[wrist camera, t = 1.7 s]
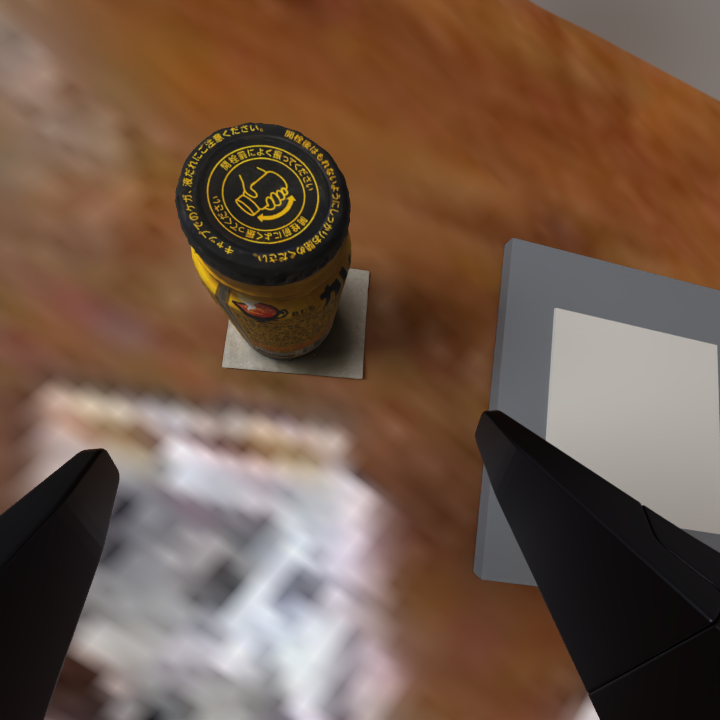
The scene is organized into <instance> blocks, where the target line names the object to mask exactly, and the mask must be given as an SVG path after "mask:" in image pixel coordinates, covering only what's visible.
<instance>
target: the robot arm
mask: <svg viewBox="0 0 720 720" xmlns="http://www.w3.org/2000/svg"><path fill="white" fill-rule="evenodd" d="M475 438H476V442H477V445H478V448H479V451H480V454H481V457H482V460H483V462H484V465H485V468H486V471H487V474H488V477H489V480H490V483H491V485H492V488H493V491H494V493H495V496H496V498H497V500H498V502H499V505H500V507H501V509H502V511H503V513H504V515H505V517H506V520H507V522H508V524H509V526H510V528H511V530H512V532H513V535H514V537H515V539H516V541H517V543H518V545H519V547H520V549H521V552H522V554H523V556H524V558H525V560H526V562H527V564H528V566H529V569H530V571H531V573H532V575H533V577H534V579H535V581H536V584H537V586H538V588H539V590H540V592H541V594H542V596H543V598H544V601H545V603H546V605H547V607H548V609H549V611H550V613H551V616H552V618H553V620H554V622H555V624H556V626H557V628H558V630H559V633H560V635H561V637H562V639H563V641H564V643H565V645H566V648H567V650H568V652H569V654H570V656H571V658H572V660H573V662H574V665H575V667H576V669H577V671H578V673H579V675H580V677H581V680H582V682H583V684H584V686H585V688H586V690H587V692H588V693H589V697H590V699H591V701H592V704H593V706H594V708H595V710H596V712H597V714H598V716H599V719H600V720H720V552H718V551H716V550H715V549H713V548H711V547H710V546H708V545H706V544H705V543H703V542H701V541H700V540H698V539H696V538H695V537H693V536H691V535H690V534H688V533H687V532H685V531H684V530H682V529H680V528H679V527H677V526H676V525H674V524H673V523H671V522H669V521H668V520H666V519H665V518H663V517H662V516H660V515H659V514H657V513H656V512H654V511H652V510H651V509H649V508H648V507H646V506H645V505H641V503H640V502H639V501H637V500H636V499H634V498H633V497H631V496H629V495H628V494H626V493H625V492H623V491H622V490H620V489H619V488H617V487H616V486H614V485H613V484H611V483H610V482H608V481H607V480H605V479H604V478H602V477H601V476H599V475H598V474H596V473H595V472H593V471H591V470H590V469H588V468H587V467H585V466H584V465H582V464H581V463H579V462H578V461H576V460H575V459H573V458H572V457H570V456H569V455H567V454H566V453H564V452H563V451H561V450H560V449H558V448H557V447H555V446H553V445H552V444H550V443H549V442H547V441H546V440H544V439H543V438H541V437H540V436H538V435H537V434H535V433H534V432H532V431H531V430H529V429H528V428H526V427H525V426H523V425H522V424H520V423H519V422H517V421H515V420H514V419H512V418H511V417H509V416H508V415H506V414H505V413H503V412H502V411H500V410H491V411H485V412H483V413H482V415H481V418H480V421H479V424H478V426H477V429H476V433H475ZM118 484H119V471H118V469H117V467H116V466H115V464H114V462H113V460H112V459H111V457H110V455H109V454H108V452H107V451H106V450H105V449H101V448H100V449H89V450H83V451H81V452H79V453H78V454H76V455H75V456H74V457H73V458H71V459H70V460H69V461H68V462H66V463H65V464H64V465H63V466H61V467H60V468H59V469H58V470H56V471H55V472H54V473H53V474H51V475H50V476H49V477H48V478H46V479H45V480H44V481H43V482H41V483H40V484H39V485H38V486H36V487H35V488H34V489H33V490H31V491H30V492H29V493H28V494H26V495H25V496H24V497H23V498H21V499H20V500H19V501H18V502H16V503H15V504H14V505H13V506H11V507H10V508H9V509H8V510H6V511H5V512H4V513H3V514H1V515H0V720H44V718H45V715H46V712H47V709H48V706H49V703H50V701H51V698H52V695H53V692H54V689H55V686H56V683H57V681H58V678H59V675H60V672H61V669H62V666H63V663H64V661H65V658H66V655H67V652H68V649H69V646H70V643H71V641H72V638H73V635H74V632H75V629H76V626H77V623H78V621H79V618H80V615H81V612H82V609H83V606H84V603H85V601H86V598H87V595H88V592H89V589H90V586H91V584H92V581H93V578H94V575H95V572H96V569H97V566H98V564H99V561H100V558H101V554H102V551H103V548H104V544H105V540H106V536H107V532H108V528H109V523H110V519H111V515H112V510H113V506H114V502H115V497H116V493H117V489H118Z"/></svg>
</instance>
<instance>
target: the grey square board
mask: <svg viewBox="0 0 720 720" xmlns="http://www.w3.org/2000/svg"><path fill="white" fill-rule="evenodd" d="M491 410H500V411H502V412H503V413H505V414H506V415H508V416H509V417H511V418H512V419H514V420H515V421H517V422H519V423H520V424H522V425H523V426H525V427H526V428H528V429H529V430H531V431H532V432H534V433H535V434H537V435H538V436H540V437H541V438H543V439H544V440H546V441H547V442H549V443H550V444H552V445H553V446H555V447H557V448H558V449H560V450H561V451H563V452H564V453H566V454H567V455H569V456H570V457H572V458H573V459H575V460H576V461H578V462H579V463H581V464H582V465H584V466H585V467H587V468H588V469H590V470H591V471H593V472H595V473H596V474H598V475H599V476H601V477H602V478H604V479H605V480H607V481H608V482H610V483H611V484H613V485H614V486H616V487H617V488H619V489H620V490H622V491H623V492H625V493H626V494H628V495H629V496H631V497H633V498H634V499H636V500H637V501H639V502H640V503H641V505H645V506H646V507H648V508H649V509H651V510H652V511H654V512H656V513H657V514H659V515H660V516H662V517H663V518H665V519H666V520H668V521H669V522H671V523H673V524H674V525H676V526H677V527H679V528H680V529H682V530H684V531H685V532H687V533H688V534H690V535H691V536H693V537H695V538H696V539H698V540H700V541H701V542H703V543H705V544H706V545H708V546H710V547H711V548H713V549H715V550H716V551H718V552H720V291H719V290H715V289H711V288H707V287H703V286H699V285H696V284H692V283H688V282H684V281H680V280H676V279H672V278H668V277H664V276H660V275H656V274H653V273H649V272H645V271H641V270H637V269H633V268H629V267H625V266H621V265H617V264H613V263H610V262H606V261H602V260H598V259H594V258H590V257H586V256H582V255H578V254H574V253H570V252H567V251H563V250H559V249H555V248H551V247H547V246H543V245H539V244H535V243H531V242H527V241H524V240H520V239H516V238H512V239H511V240H510V241H509V242H507V243H506V244H505V248H504V258H503V268H502V279H501V289H500V299H499V310H498V320H497V331H496V341H495V351H494V362H493V372H492V382H491V393H490V403H489V411H491ZM473 572H474V573H475V574H476V575H477V576H478V577H479V578H480V579H481V580H489V581H498V582H506V583H514V584H522V585H531V586H537V584H536V581H535V579H534V577H533V575H532V573H531V571H530V569H529V566H528V564H527V562H526V560H525V558H524V556H523V554H522V552H521V549H520V547H519V545H518V543H517V541H516V539H515V537H514V535H513V532H512V530H511V528H510V526H509V524H508V522H507V520H506V517H505V515H504V513H503V511H502V509H501V507H500V505H499V502H498V500H497V498H496V496H495V493H494V491H493V488H492V485H491V483H490V480H489V477H488V474H487V471H486V468H485V465H483V475H482V486H481V496H480V506H479V517H478V527H477V537H476V548H475V558H474V568H473Z"/></svg>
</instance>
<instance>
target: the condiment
mask: <svg viewBox="0 0 720 720" xmlns="http://www.w3.org/2000/svg"><path fill="white" fill-rule="evenodd" d="M175 202H176V207H177V212H178V218H179V219H180V223H181V228H182V230H183V232H184V234H185V236H186V237H187V240H188V243H189V244H190V245H191V250H192V260H193V263H194V265H195V268H196V270H197V273H198V274H199V276H200V278H201V281H202V283H203V285H204V286H205V287H206V289H207V290H208V292H209V293H210V295H211V296H212V298H213V299H214V301H215V302H216V303H217V304H218V305H219V306H220V308H221V310H222V311H223V312H224V314H225V316H226V317H228V319H229V324H228V331H227V336H226V343H225V349H224V356H223V364H222V367H228V368H239V369H250V370H262V371H272V372H284V373H295V374H311V375H320V376H330V377H345V378H356V379H362V378H363V359H364V342H365V327H366V311H367V298H368V284H369V271H364V270H358V269H349V267H350V264H351V240H350V235H349V232H348V226H349V222H350V207H351V205H350V198H349V191H348V189H347V185H346V181H345V178H344V176H343V174H342V172H341V171H340V170H339V168H338V166H337V164H336V163H335V161H334V160H333V158H332V157H331V155H330V154H329V153H328V152H327V151H326V150H324V149H323V148H321V147H320V146H318V145H317V144H316V143H314V142H313V141H312V140H310V139H309V138H307V137H305V136H304V135H303V134H302V133H300V132H298V131H295V130H291V129H288V128H285V127H282V126H279V125H274V124H263V123H256V124H255V123H245V124H242V125H238V126H235V127H230V128H224V129H220V130H218V131H216V132H214V133H212V134H211V135H210V136H209V137H207V138H206V139H205V140H203V141H202V142H201V143H200V144H199V145H198V146H197V147H196V148H195V149H194V150H193V151H192V152H191V154H190V155H189V156H188V158H187V159H186V161H185V163H184V165H183V168H182V172H181V176H180V178H179V182H178V185H177V188H176V199H175ZM314 354H315V355H316V356H314Z"/></svg>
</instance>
